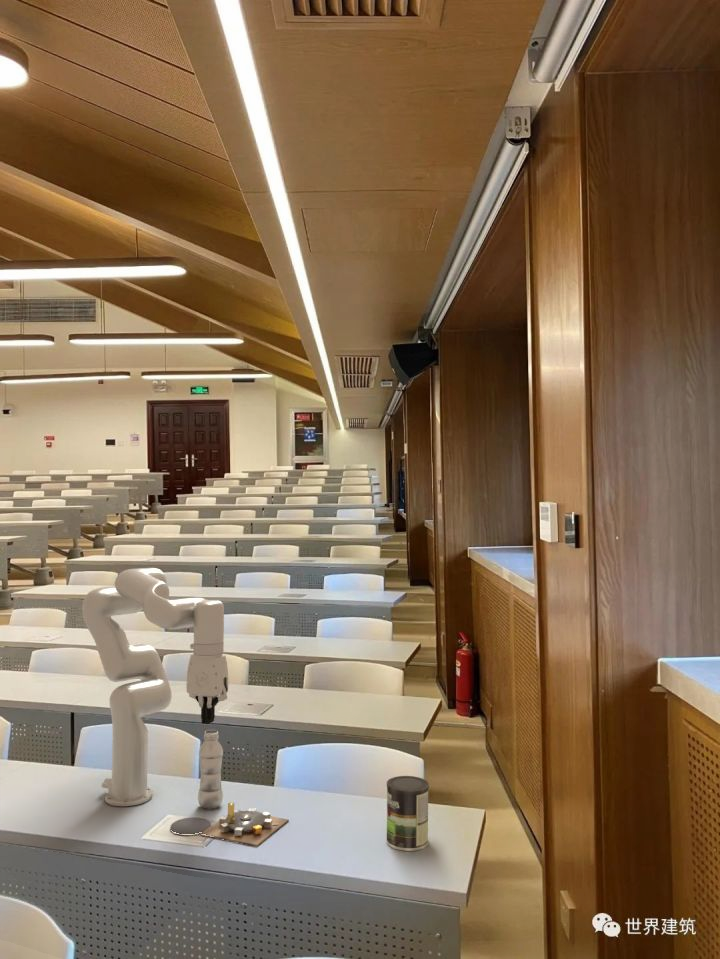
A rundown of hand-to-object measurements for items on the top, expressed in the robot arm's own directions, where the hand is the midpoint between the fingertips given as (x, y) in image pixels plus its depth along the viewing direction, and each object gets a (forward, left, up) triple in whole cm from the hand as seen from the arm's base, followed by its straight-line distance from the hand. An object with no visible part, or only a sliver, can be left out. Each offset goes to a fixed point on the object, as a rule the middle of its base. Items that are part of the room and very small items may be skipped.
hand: (207, 722), depth 187 cm
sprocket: (+9, +4, -26) cm, 28 cm away
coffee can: (+49, +13, -27) cm, 57 cm away
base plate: (+9, +4, -26) cm, 28 cm away
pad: (-4, -1, -26) cm, 27 cm away
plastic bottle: (-7, +12, -27) cm, 30 cm away
